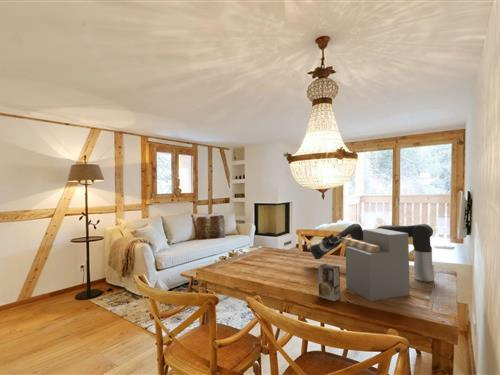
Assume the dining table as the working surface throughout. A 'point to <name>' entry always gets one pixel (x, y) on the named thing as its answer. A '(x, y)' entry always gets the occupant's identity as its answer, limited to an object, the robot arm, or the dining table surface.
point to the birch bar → (361, 245)
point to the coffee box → (329, 282)
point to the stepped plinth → (379, 265)
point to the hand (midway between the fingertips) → (338, 235)
